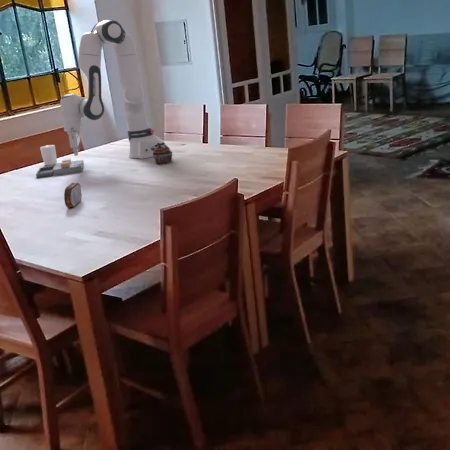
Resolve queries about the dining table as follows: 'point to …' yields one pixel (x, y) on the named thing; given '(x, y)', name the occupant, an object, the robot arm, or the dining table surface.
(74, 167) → the far plate
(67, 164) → the tile terracotta
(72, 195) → the tin
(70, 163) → the tile cream
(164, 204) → the dining table surface
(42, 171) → the box
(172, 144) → the dining table surface
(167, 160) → the cupcake
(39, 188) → the dining table surface
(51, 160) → the white cup
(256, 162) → the dining table surface
